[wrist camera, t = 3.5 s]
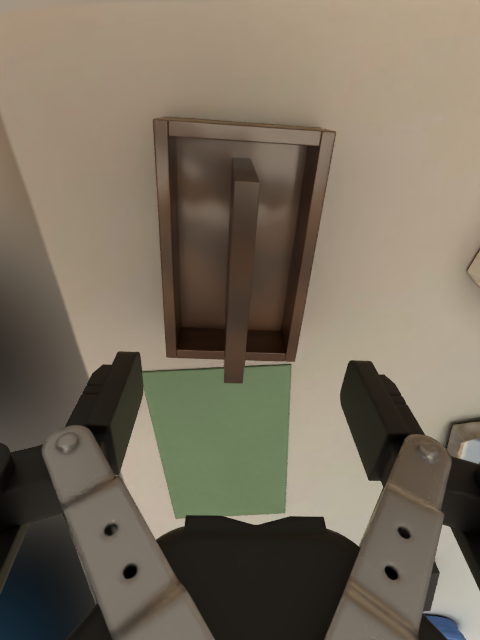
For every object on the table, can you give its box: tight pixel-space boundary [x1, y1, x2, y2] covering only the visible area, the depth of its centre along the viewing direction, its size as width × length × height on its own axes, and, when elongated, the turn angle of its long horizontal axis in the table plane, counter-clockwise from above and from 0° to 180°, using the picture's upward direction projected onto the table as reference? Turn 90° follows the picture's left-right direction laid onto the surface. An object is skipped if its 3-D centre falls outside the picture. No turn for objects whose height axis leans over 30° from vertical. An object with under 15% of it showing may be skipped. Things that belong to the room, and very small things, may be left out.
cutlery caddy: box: [153, 117, 336, 384], centre depth 23 cm, size 16×10×9 cm, turn 176°
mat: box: [142, 364, 291, 519], centre depth 39 cm, size 24×14×1 cm, turn 2°
